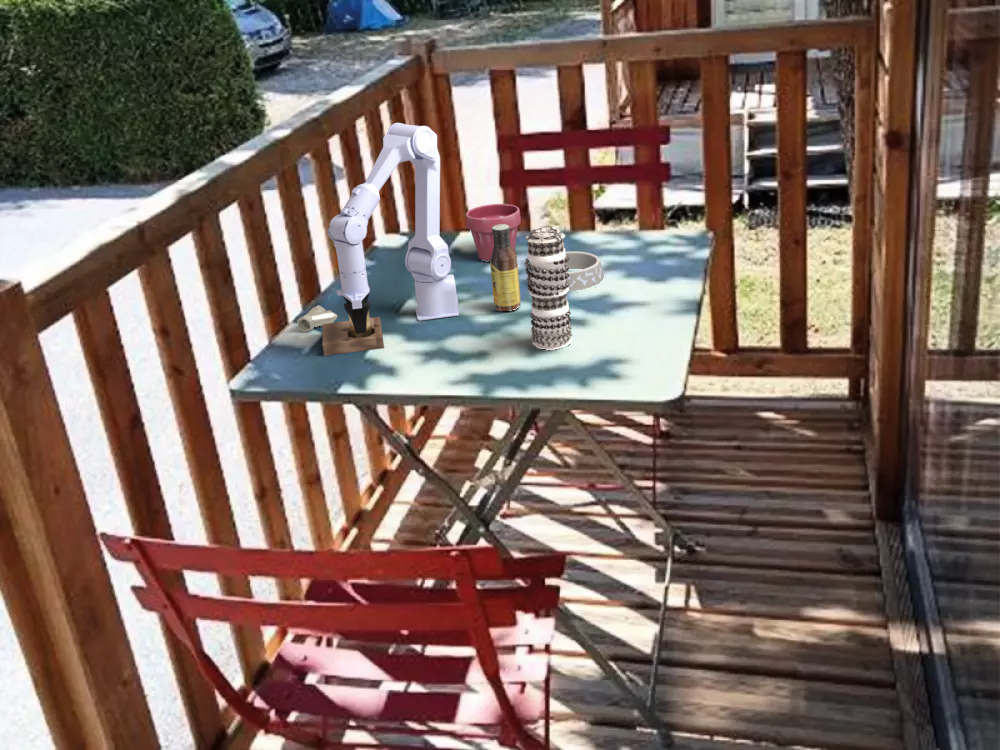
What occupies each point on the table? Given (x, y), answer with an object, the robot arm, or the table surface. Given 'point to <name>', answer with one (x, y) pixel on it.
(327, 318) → the pipe fitting
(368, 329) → the brass bushing
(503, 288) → the sauce bottle
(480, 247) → the plant pot
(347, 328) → the walnut jig plate
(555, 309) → the decorative candle
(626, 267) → the table surface
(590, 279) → the dog bowl
